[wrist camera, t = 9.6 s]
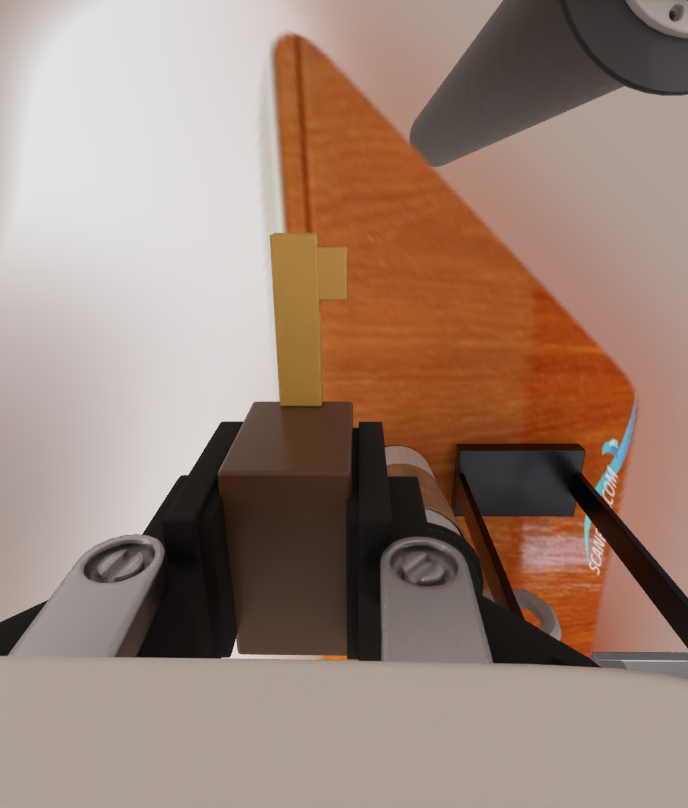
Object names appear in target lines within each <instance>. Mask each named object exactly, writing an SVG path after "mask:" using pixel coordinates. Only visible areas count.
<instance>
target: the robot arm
mask: <svg viewBox="0 0 688 808" xmlns="http://www.w3.org/2000/svg"><path fill="white" fill-rule="evenodd" d="M625 1H626V3H627V4H628V5H629V7H630V8H631V10H632V11H633V12H634V14H635V15H637V16H638V17H639V18H640V19H641V20H642V21H644V22H645V23H646V24H647V25H648V26H650V27H652V28H654V29H656V30H658V31H660V32H662V33H664V34H666V35H671V36H675V37H679V38H688V0H625ZM669 13H670V14H671V16H672V18H671V19H670V17H669ZM242 424H243V422H221V423H220V425H219V426H218V428H217V430H216V431H215V433H214V435H213V436H212V438H211V440H210V441H209V443H208V444H207V446H206V448H205V449H204V451H203V453H202V454H201V456H200V457H199V459H198V461H197V462H196V464H195V466H194V467H193V469H192V471H191V472H190V474H189V475H188V476H187V475H184V476H180V478H179V479H178V480H177V481H176V483H175V485H174V486H173V488H172V489H171V491H170V492H169V494H168V495H167V497H166V499H165V500H164V502H163V503H162V505H161V506H160V508H159V509H158V511H157V513H156V514H155V516H154V517H153V519H152V520H151V522H150V523H149V525H148V527H147V528H146V530H145V531H144V533H143V534H142V535H138V534H135V535H125V536H120V537H117V538H112V539H109V540H107V541H105V542H102V543H100V544H98V545H96V546H94V547H93V548H91V549H90V550H88V551H87V552H86V553H85V554H84V555H83V556H82V557H81V558H80V559H79V560H78V561H77V562H76V564H75V565H74V566H73V568H72V569H71V571H70V572H69V573H68V574H67V576H66V577H65V578H64V580H63V581H62V582H61V584H60V585H59V587H58V588H57V589H56V591H55V592H54V593H53V595H52V596H51V597H50V599H49V600H47V601H45V602H43V603H41V604H39V605H36V606H34V607H32V608H30V609H28V610H26V611H24V612H21V613H19V614H17V615H15V616H13V617H11V618H9V619H6V620H4V621H2V622H0V808H688V680H687V679H683V678H678V677H673V676H668V675H664V674H657V673H649V672H641V671H633V670H625V669H617V668H602V667H601V666H599V665H598V664H596V663H595V662H594V661H592V660H591V659H590V658H588V657H586V656H584V655H583V654H581V653H579V652H578V651H576V650H574V649H573V648H571V647H569V646H568V645H566V644H564V643H562V642H561V641H559V640H557V639H556V638H554V637H552V636H551V635H549V634H547V633H546V632H544V631H542V630H540V629H539V628H537V627H535V626H534V625H532V624H530V623H529V622H527V621H525V620H524V619H522V618H520V617H519V616H517V615H515V614H513V613H512V612H510V611H508V610H507V609H505V608H503V607H502V606H500V605H498V604H497V603H495V602H493V601H491V600H490V599H488V598H486V597H485V596H483V595H481V594H480V593H478V592H476V591H475V590H474V588H473V584H472V580H471V576H470V573H469V569H468V565H467V562H466V560H465V558H464V556H463V555H462V554H461V553H460V552H459V551H458V550H457V549H456V548H455V547H453V546H451V545H449V544H448V543H446V542H444V541H441V540H437V539H434V538H431V536H430V531H429V527H428V522H427V517H426V513H425V508H424V503H423V499H422V494H421V489H420V485H419V480H418V477H417V476H388V473H387V464H386V454H385V445H384V436H383V426H382V422H359V428H353V441H352V491H351V497H350V498H347V506H346V593H347V659H359V661H344V660H278V659H221V657H230V656H231V653H232V650H233V646H234V643H235V639H236V636H237V627H236V618H235V609H234V600H233V592H232V583H231V574H230V565H229V557H228V548H227V539H226V530H225V522H224V513H223V504H222V498H221V497H220V492H219V484H218V475H217V474H218V471H219V469H220V467H221V465H222V463H223V462H224V460H225V458H226V456H227V454H228V452H229V450H230V448H231V446H232V444H233V442H234V440H235V438H236V436H237V434H238V432H239V430H240V428H241V426H242Z"/></svg>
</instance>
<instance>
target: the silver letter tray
mask: <svg viewBox="0 0 688 808" xmlns="http://www.w3.org/2000/svg"><path fill="white" fill-rule="evenodd" d="M591 660H592V661H594V662H595V663H596V664H598V665H599V666H601V667H602V668H617V669H625V670H633V671H641V672H649V673H657V674H664V675H668V676H673V677H678V678H683V679H687V680H688V653H669V652H663V653H662V652H661V653H660V652H655V653H654V652H592V656H591Z"/></svg>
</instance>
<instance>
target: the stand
mask: <svg viewBox="0 0 688 808" xmlns="http://www.w3.org/2000/svg"><path fill="white" fill-rule="evenodd" d="M584 457H585V449H584V448H583V447H582V446H581V445H580V444H457V450H456V463H455V475H454V488H453V501H452V510H453V513H454V516H464V518H465V521H466V524H467V526H468V529H469V532H470V535H471V538H472V540H473V543H474V546H475V549H476V552H477V554H478V557H479V560H480V563H481V565H482V568H483V571H484V574H485V577H486V579H487V582H488V585H489V588H490V591H491V593H492V596H493V599H494V602H495V603H497V604H498V605H500V606H502V607H503V608H505V609H507V610H508V611H510V612H512V613H513V614H515V615H517V616H519V617H520V618H522V619H524V617H523V614H522V612H521V610H520V607H519V605H518V602H517V600H516V597H515V595H514V593H513V590H512V588H511V585H510V583H509V581H508V578H507V576H506V573H505V571H504V569H503V566H502V564H501V561H500V559H499V557H498V554H497V552H496V549H495V547H494V545H493V542H492V540H491V537H490V535H489V533H488V530H487V528H486V525H485V523H484V521H483V518H482V516H574V512H575V507H576V501H577V503H578V504H579V505H580V507H581V508H582V509H583V511H584V512H585V513H586V515H587V516H588V517H589V519H590V520H591V521H592V523H593V524H594V525H595V526H596V528H597V529H598V530H599V532H600V533H601V534H602V536H603V537H604V538H605V540H606V541H607V542H608V544H609V545H610V546H611V548H612V549H613V550H614V552H615V553H616V554H617V555H618V557H619V558H620V560H621V561H622V562H623V563H624V565H625V566H626V567H627V569H628V570H629V571H630V573H631V574H632V575H633V577H634V578H635V579H636V581H637V582H638V583H639V584H640V586H641V587H642V588H643V590H644V591H645V593H646V594H647V595H648V596H649V598H650V599H651V600H652V602H653V603H654V604H655V606H656V607H657V608H658V610H659V611H660V612H661V614H662V615H663V616H664V618H665V619H666V620H667V621H668V623H669V624H670V626H671V627H672V628H673V630H674V631H675V632H676V633H677V635H678V636H679V637H680V639H681V640H682V641H683V643H684V644H685V645H686V646H687V648H688V598H687V596H685V594H684V593H683V592H682V590H681V589H680V588H679V587H678V586H677V585H676V583H675V582H674V581H673V580H672V579H671V578H670V576H668V574H667V573H666V572H665V571H664V569H663V568H662V567H661V566H660V565H659V564H658V562H657V561H656V560H655V559H654V558H653V557H652V556H651V554H650V553H649V552H648V551H647V550H646V548H645V547H644V546H643V545H642V544H641V542H639V540H638V539H637V538H636V537H635V536H634V534H633V533H632V532H631V531H630V530H629V529H628V527H627V526H626V525H625V524H624V523H623V522H622V520H621V519H620V518H619V517H618V516H617V514H616V513H615V512H614V511H613V510H612V509H611V507H610V506H609V505H608V504H607V503H606V502H605V500H604V499H603V498H602V497H601V496H600V494H599V493H598V492H597V491H596V490H595V489H594V487H593V486H592V485H591V484H590V483H589V482H588V480H587V479H586V478H585V477H584V476H583V475H582V468H583V462H584ZM524 620H525V619H524Z"/></svg>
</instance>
